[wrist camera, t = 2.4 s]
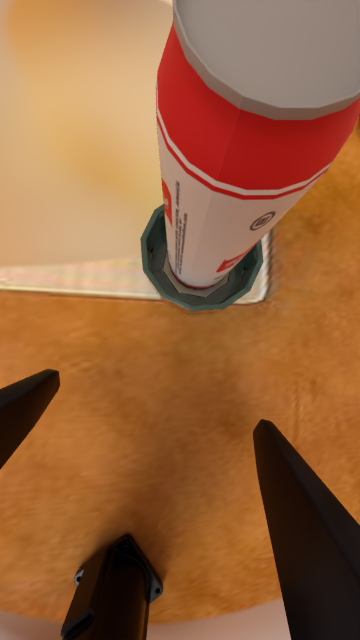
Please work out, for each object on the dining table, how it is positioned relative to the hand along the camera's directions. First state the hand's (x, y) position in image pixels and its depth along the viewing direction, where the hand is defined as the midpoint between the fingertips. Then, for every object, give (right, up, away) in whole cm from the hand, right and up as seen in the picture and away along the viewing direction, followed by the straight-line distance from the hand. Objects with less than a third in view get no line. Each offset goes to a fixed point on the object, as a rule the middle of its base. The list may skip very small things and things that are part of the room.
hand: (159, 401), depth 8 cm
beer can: (+3, +10, +12) cm, 16 cm away
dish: (+3, +10, +12) cm, 16 cm away
